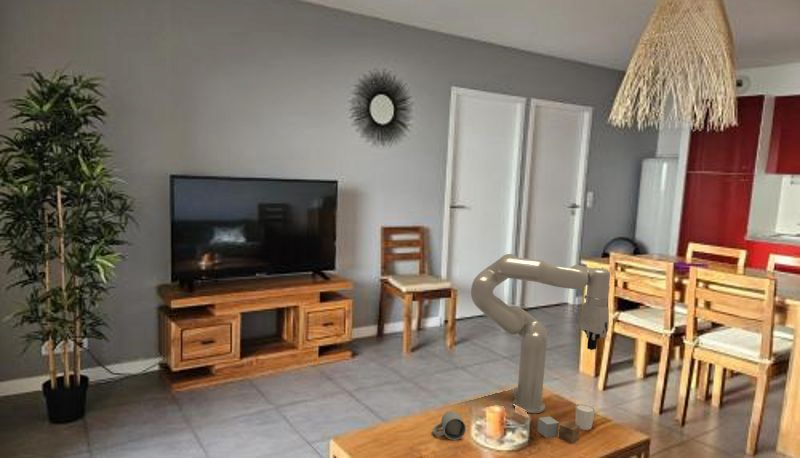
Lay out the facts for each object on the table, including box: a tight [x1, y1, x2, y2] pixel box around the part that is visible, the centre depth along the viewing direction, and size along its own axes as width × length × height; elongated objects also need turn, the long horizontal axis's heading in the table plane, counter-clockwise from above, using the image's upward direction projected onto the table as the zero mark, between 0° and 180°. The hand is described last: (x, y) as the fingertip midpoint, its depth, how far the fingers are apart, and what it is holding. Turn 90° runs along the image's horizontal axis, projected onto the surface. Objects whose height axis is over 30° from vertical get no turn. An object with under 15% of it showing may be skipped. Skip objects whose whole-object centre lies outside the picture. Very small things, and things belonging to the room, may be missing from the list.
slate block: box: [536, 415, 560, 439], centre depth 192 cm, size 5×5×5 cm
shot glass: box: [574, 404, 596, 431], centre depth 199 cm, size 7×7×7 cm
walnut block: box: [558, 420, 580, 445], centre depth 189 cm, size 5×5×5 cm
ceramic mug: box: [432, 410, 467, 441], centre depth 187 cm, size 11×8×8 cm
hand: (591, 348), depth 204 cm, fingers closed
